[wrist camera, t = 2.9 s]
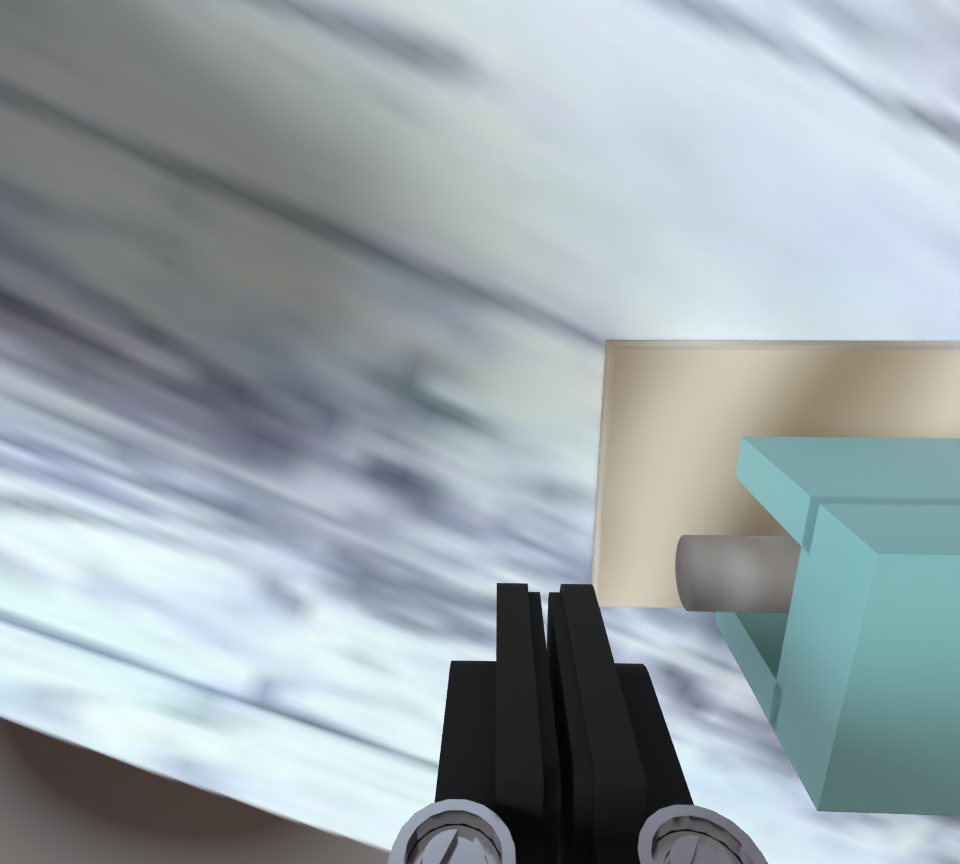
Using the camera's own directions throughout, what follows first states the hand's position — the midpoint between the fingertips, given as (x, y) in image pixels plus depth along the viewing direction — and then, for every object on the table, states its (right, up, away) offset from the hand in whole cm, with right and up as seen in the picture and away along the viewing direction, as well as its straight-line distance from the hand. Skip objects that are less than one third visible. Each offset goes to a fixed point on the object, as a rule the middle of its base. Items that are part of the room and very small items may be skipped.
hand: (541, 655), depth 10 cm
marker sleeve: (+7, +1, +4) cm, 9 cm away
